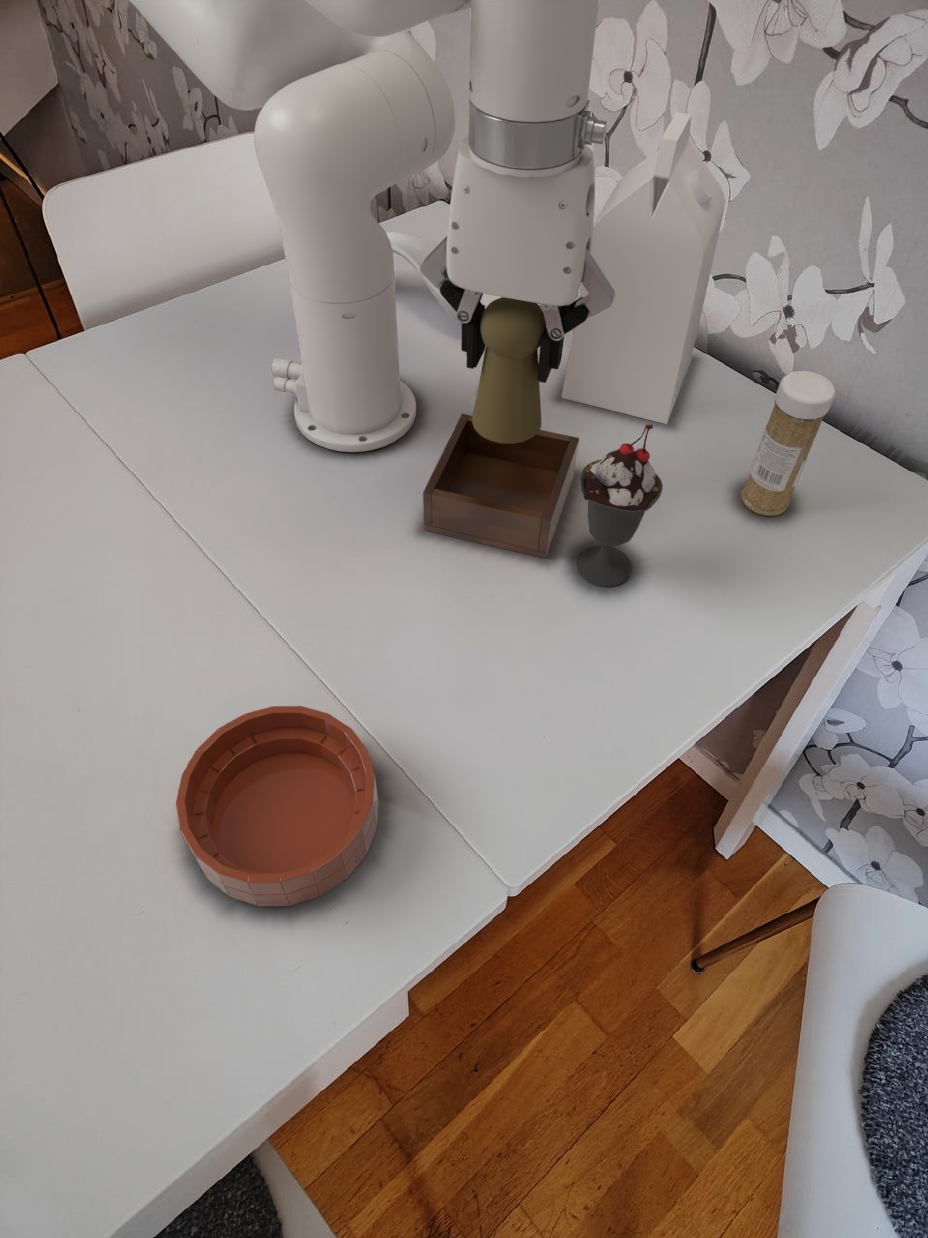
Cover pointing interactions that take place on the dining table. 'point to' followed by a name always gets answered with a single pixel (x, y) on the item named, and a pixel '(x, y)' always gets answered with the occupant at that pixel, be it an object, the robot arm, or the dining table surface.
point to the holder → (500, 489)
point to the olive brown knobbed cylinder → (509, 372)
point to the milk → (649, 282)
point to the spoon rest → (416, 253)
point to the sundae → (616, 509)
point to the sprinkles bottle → (787, 441)
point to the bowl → (279, 805)
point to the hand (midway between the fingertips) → (510, 363)
